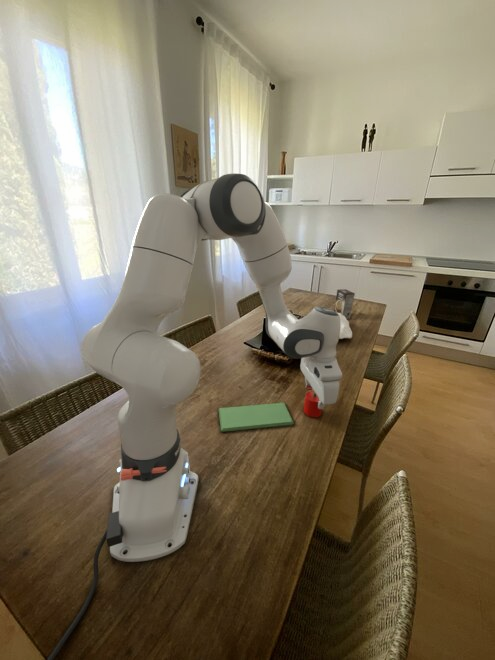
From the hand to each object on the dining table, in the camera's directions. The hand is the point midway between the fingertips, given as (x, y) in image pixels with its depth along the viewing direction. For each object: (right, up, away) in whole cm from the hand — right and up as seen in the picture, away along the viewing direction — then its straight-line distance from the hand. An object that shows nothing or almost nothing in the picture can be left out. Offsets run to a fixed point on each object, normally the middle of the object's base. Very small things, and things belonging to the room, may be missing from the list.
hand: (314, 397), depth 89 cm
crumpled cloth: (+23, +20, +61) cm, 68 cm away
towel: (-19, -6, -1) cm, 20 cm away
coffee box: (+37, +30, +85) cm, 98 cm away
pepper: (0, -5, +2) cm, 5 cm away
